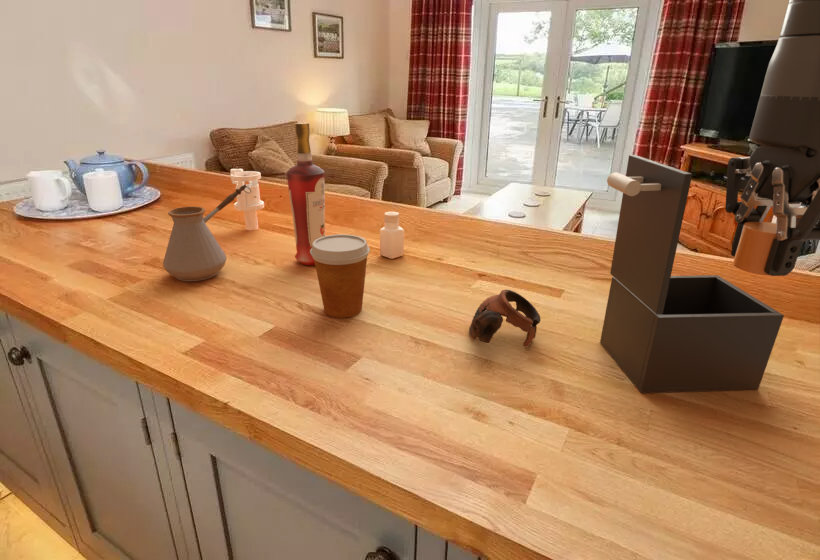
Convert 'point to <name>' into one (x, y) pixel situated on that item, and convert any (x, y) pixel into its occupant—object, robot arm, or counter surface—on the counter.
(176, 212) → the coffee pot
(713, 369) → the dark grey storage bin
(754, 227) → the orange cylinder
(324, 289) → the disposable coffee cup
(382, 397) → the counter surface
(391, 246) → the white medicine bottle
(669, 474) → the counter surface
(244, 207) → the white plastic fitting
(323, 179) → the liquor
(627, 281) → the box lid with handle
